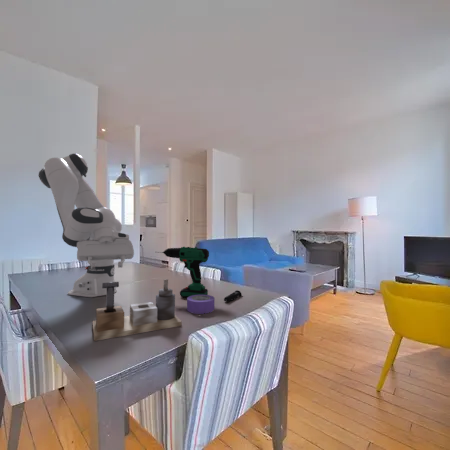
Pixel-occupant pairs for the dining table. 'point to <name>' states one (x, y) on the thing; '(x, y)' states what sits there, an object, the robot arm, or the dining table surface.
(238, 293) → the electric trimmer
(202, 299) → the tape roll
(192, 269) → the power drill
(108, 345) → the dining table surface
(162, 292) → the stand
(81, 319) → the dining table surface
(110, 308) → the chuck key
